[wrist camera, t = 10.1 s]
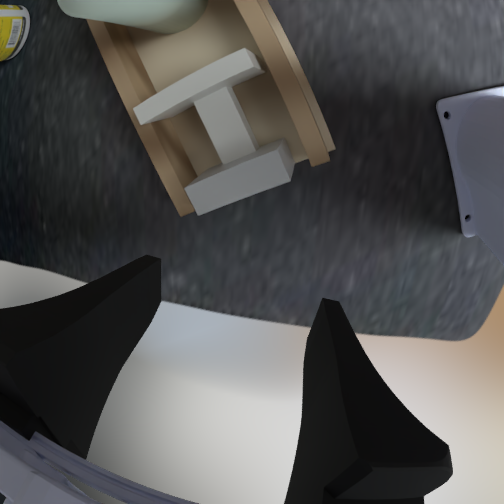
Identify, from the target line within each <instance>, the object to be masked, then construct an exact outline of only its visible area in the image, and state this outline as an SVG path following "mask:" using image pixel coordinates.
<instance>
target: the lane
mask: <svg viewBox="0 0 504 504" xmlns="http://www.w3.org/2000/svg"><path fill="white" fill-rule="evenodd" d="M86 20H87V22H88V25H89V27H90V29H91V32H92V34H93V36H94V39H95V41H96V43H97V46H98V48H99V50H100V52H101V55H102V57H103V59H104V61H105V64H106V66H107V68H108V70H109V73H110V75H111V77H112V79H113V81H114V83H115V86H116V88H117V90H118V92H119V94H120V96H121V99H122V101H123V103H124V105H125V107H126V109H127V111H128V113H129V116H130V118H131V120H132V122H133V124H134V126H135V128H136V130H137V132H138V134H139V136H140V138H141V140H142V142H143V144H144V146H145V148H146V150H147V152H148V154H149V156H150V158H151V160H152V162H153V164H154V166H155V168H156V170H157V172H158V174H159V176H160V178H161V180H162V182H163V184H164V186H165V188H166V190H167V192H168V194H169V196H170V198H171V200H172V201H173V203H174V205H175V207H176V209H177V211H178V213H179V215H180V217H182V216H184V215H187V214H189V213H192V212H194V211H195V209H194V207H193V205H192V203H191V201H190V199H189V197H188V195H187V193H186V191H185V189H184V188H185V187H186V186H187V185H189V184H190V183H191V182H192V181H193V180H195V179H196V178H197V177H198V176H200V175H201V174H202V173H203V172H205V171H206V170H207V169H208V168H211V167H213V166H215V165H218V164H220V163H222V161H221V159H220V157H219V155H218V153H217V151H216V149H215V147H214V145H213V142H212V140H211V138H210V136H209V134H208V132H207V130H206V128H205V126H204V124H203V122H202V120H201V117H200V115H199V113H198V111H197V109H196V107H195V105H194V106H192V107H190V108H189V109H187V110H185V111H183V112H181V113H179V114H177V115H176V116H174V117H171V118H167V119H163V120H159V121H155V122H151V123H147V124H144V125H140V123H139V120H138V118H137V116H136V114H135V112H134V110H133V108H134V107H136V106H138V105H139V104H141V103H142V102H144V101H145V100H147V99H149V98H150V97H152V96H153V95H155V94H157V93H158V92H160V91H162V90H163V89H165V88H167V87H169V86H170V85H172V84H174V83H175V82H177V81H179V80H181V79H183V78H184V77H186V76H188V75H190V74H192V73H194V72H196V71H197V70H199V69H201V68H203V67H205V66H207V65H209V64H211V63H213V62H215V61H217V60H219V59H221V58H223V57H225V56H227V55H230V54H232V53H234V52H236V51H238V50H241V49H243V48H246V49H247V50H249V51H251V52H252V53H254V54H255V55H257V56H258V57H259V58H260V60H261V62H262V64H263V66H264V68H265V70H266V73H263V74H261V75H258V76H256V77H254V78H251V79H249V80H247V81H244V82H242V83H240V84H238V85H236V86H233V87H232V89H233V91H234V93H235V95H236V97H237V100H238V102H239V104H240V106H241V108H242V110H243V112H244V114H245V117H246V119H247V121H248V123H249V125H250V127H251V130H252V132H253V134H254V136H255V138H256V141H257V143H258V145H259V147H261V146H263V145H266V144H268V143H271V142H274V141H276V140H279V139H281V138H284V137H285V140H286V142H287V144H288V147H289V149H290V151H291V154H292V156H293V159H294V161H295V163H297V162H300V161H303V160H306V159H309V161H310V164H311V166H312V167H314V166H317V165H319V164H322V163H325V162H328V161H330V158H329V154H328V152H329V151H332V150H335V149H336V148H335V145H334V143H333V140H332V138H331V135H330V132H329V130H328V127H327V125H326V122H325V120H324V117H323V115H322V113H321V110H320V108H319V105H318V103H317V101H316V98H315V96H314V94H313V91H312V89H311V87H310V85H309V82H308V80H307V78H306V76H305V74H304V71H303V69H302V67H301V65H300V63H299V61H298V59H297V57H296V55H295V52H294V50H293V48H292V46H291V44H290V42H289V40H288V38H287V36H286V34H285V32H284V31H283V29H282V27H281V25H280V23H279V21H278V19H277V17H276V15H275V14H274V12H273V10H272V8H271V6H270V4H269V3H268V1H267V0H208V4H207V7H206V9H205V12H204V13H203V15H202V16H201V17H200V19H199V20H198V21H197V22H196V23H195V24H193V25H192V26H191V27H189V28H188V29H186V30H184V31H181V32H178V33H174V34H161V33H157V32H153V31H149V30H144V29H140V28H135V27H131V26H126V25H121V24H115V23H110V22H104V21H98V20H91V19H86Z"/></svg>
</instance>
